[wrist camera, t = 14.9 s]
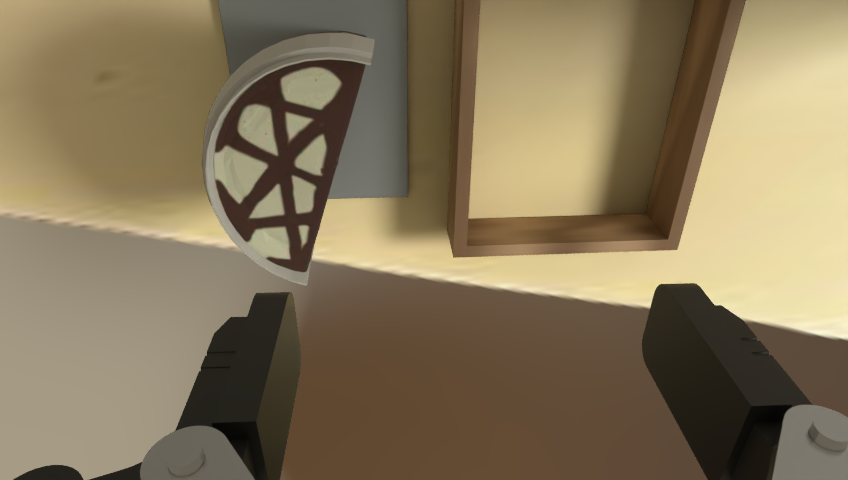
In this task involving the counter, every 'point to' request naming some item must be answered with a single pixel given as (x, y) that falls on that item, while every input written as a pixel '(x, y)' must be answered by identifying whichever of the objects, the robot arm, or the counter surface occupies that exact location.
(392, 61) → the rubber mat
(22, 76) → the counter surface
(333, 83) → the food container
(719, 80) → the frame
